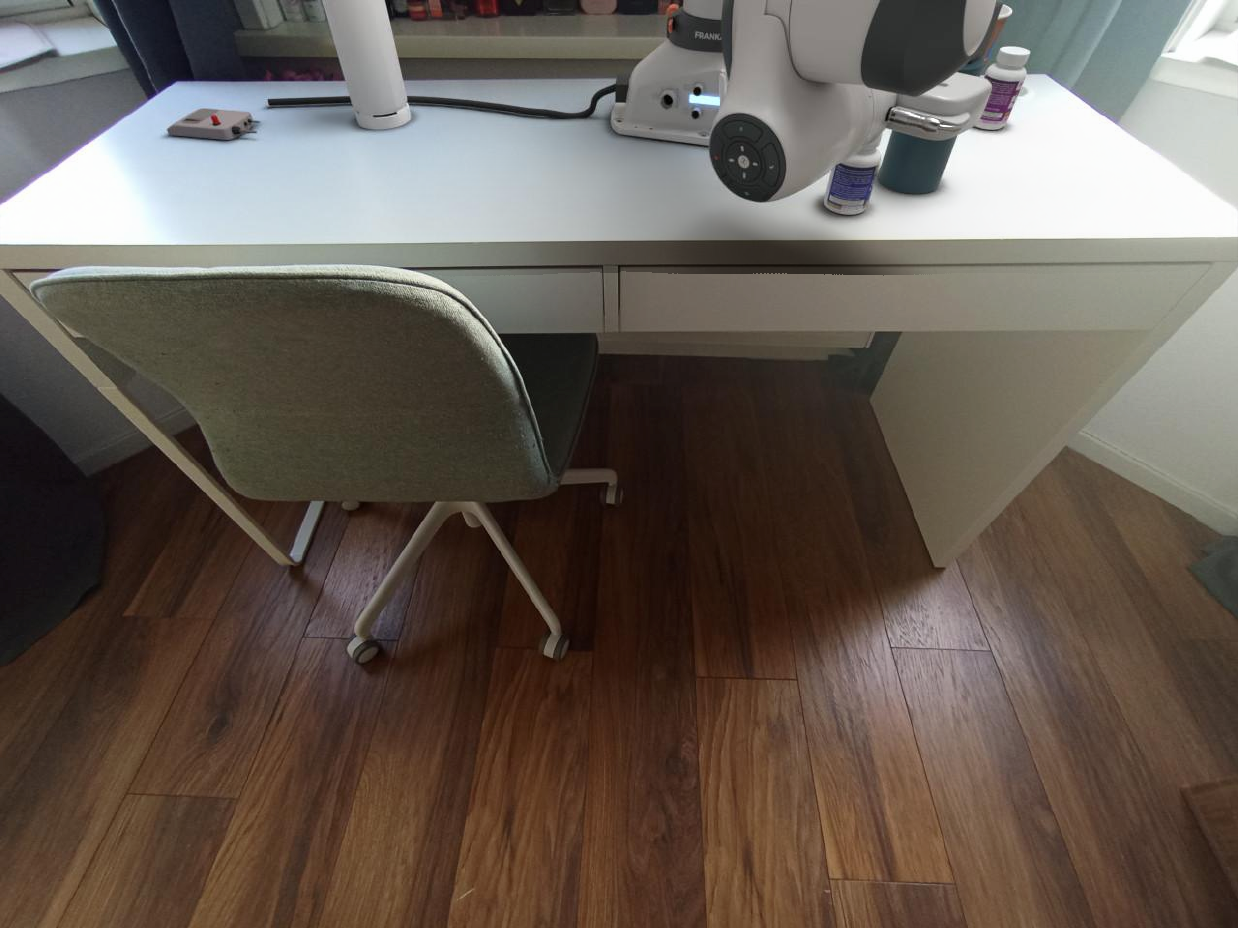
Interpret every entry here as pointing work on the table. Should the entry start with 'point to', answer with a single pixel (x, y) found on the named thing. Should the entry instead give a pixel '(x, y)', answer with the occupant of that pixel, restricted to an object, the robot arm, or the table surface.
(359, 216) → the table surface
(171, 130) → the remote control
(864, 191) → the pill bottle
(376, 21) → the bottle
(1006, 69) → the pill bottle
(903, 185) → the sports bottle
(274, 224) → the table surface
